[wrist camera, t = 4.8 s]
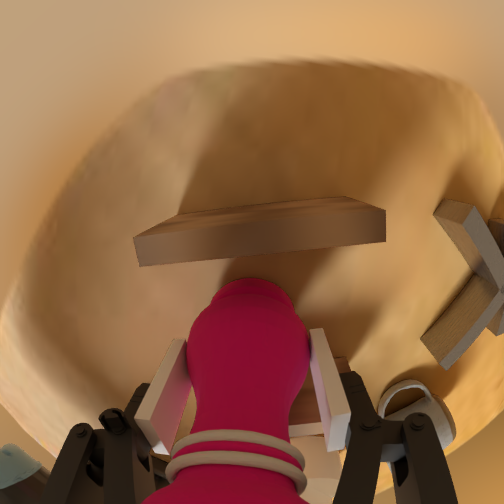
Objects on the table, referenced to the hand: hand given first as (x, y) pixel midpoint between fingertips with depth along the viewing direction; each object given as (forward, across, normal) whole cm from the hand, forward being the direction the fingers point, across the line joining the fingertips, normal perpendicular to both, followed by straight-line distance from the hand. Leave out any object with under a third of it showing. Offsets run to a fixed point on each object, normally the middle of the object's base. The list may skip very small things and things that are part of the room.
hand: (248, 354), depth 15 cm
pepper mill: (+5, 0, 0) cm, 5 cm away
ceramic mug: (+6, +15, -16) cm, 22 cm away
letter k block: (+6, +19, 0) cm, 20 cm away
